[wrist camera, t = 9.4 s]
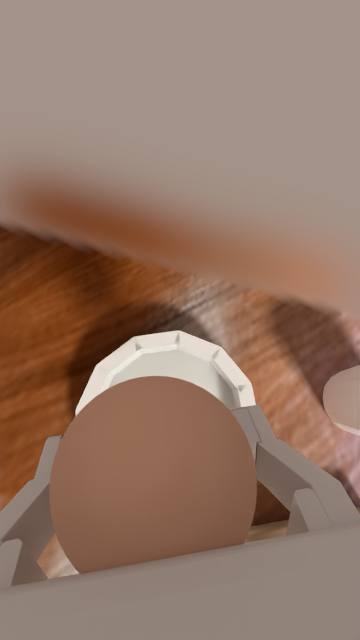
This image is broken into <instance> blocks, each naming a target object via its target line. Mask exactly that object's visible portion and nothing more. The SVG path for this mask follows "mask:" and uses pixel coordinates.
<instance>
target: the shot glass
mask: <svg viewBox="0 0 360 640" xmlns="http://www.w3.org/2000/svg"><path fill="white" fill-rule="evenodd" d="M322 399H323V404H324V408H325V411H326V413H327V415H328V416H329V418H330V419H331V421H332V422H333V423H334V424H336V425H337V426H338V427H339V428H341V429H342V430H345V431H347V432H350V433H353V434H355V435H358V436H360V365H358V366H355V367H352V368H349V369H346V370H343V371H340V372H339V373H337V374H335V375H333V376H332V377H330V379H329V380H328V382H327V383H326V385H325V386H324V392H323V397H322Z"/></svg>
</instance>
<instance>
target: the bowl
mask: <svg viewBox="0 0 360 640" xmlns="http://www.w3.org/2000/svg"><path fill="white" fill-rule="evenodd" d="M144 376H168V377H174V378H179V379H182V380H185V381H188V382H191V383H194V384H196V385H198V386H200V387H202V388H204V389H205V390H207V391H208V392H210V393H211V394H213V395H214V396H215V397H216V398H218V399H219V400H220V401H221V402H222V403H223V404H224V405H225V406H226V407H227V408H228V409H233V408H239V407H247V406H253V405H256V404H255V399H254V394H253V389H252V384H250V383H251V382H250V381H249V380H248V379H247V377H246V376H245V375H244V374H243V373H242V371H241V370H240V369H239V368H238V366H237V365H236V364H235V363H234V362H233V360H232V359H231V358H230V357H229V356H228V354H227V353H226V352H225V351H224V350H223V348H222V347H220V346H218V345H215V344H213V343H210V342H208V341H205V340H202V339H200V338H197V337H195V336H192V335H190V334H187V333H185V332H182V331H179V330H177V331H170V332H163V333H156V334H149V335H142V336H135V337H133V338H131V339H130V340H129V341H127V342H126V343H125V344H123V345H122V346H121V347H119V348H118V349H117V350H115V351H114V352H113V353H111V354H110V355H109V356H107V357H106V358H105V359H103V360H102V361H101V362H99V363H98V364H97V365H96V367H95V369H94V371H93V373H92V375H91V377H90V380H89V382H88V384H87V386H86V388H85V390H84V392H83V395H82V397H81V399H80V401H79V403H78V405H77V408H76V410H75V412H76V415H77V414H78V413H79V412H80V411H81V410H82V409H83V408H84V406H85V405H87V404H88V403H89V402H90V401H91V400H92V399H93V398H95V397H96V396H97V395H99V394H100V393H102V392H103V391H105V390H106V389H108V388H110V387H112V386H114V385H116V384H118V383H121V382H124V381H127V380H129V379H134V378H138V377H144Z"/></svg>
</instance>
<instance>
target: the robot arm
mask: <svg viewBox="0 0 360 640" xmlns="http://www.w3.org/2000/svg"><path fill="white" fill-rule="evenodd" d="M229 410H230V411H231V412H232V414H233V415H234V416H235V418H236V419H237V421H238V422H239V424H240V425H241V427H242V429H243V431H244V433H245V435H246V437H247V439H248V442H249V444H250V447H251V450H252V454H253V458H254V461H255V467H256V475H257V479H258V480H259V481H260V482H261V483H262V484H263V485H264V486H265V487H266V488H267V489H268V490H269V491H270V492H271V493H272V494H273V495H274V496H275V497H276V498H277V499H278V500H279V501H280V502H281V503H282V504H283V505H284V506H285V507H286V508H287V509H288V510H289V511H290V517H289V522H288V527H287V532H286V534H287V536H281V537H276V538H270V539H265V540H259V541H254V542H249V543H244V544H239V545H234V546H228V547H223V548H218V549H212V550H207V551H202V552H196V553H191V554H185V555H180V556H175V557H169V558H164V559H158V560H153V561H147V562H142V563H136V564H131V565H126V566H120V567H115V568H110V569H104V570H99V571H93V572H88V573H83V574H75V575H70V576H64V577H59V578H53V579H48V580H47V576H46V574H45V573H44V572H43V570H42V569H41V567H40V566H39V565H38V563H37V560H38V559H39V557H40V555H41V554H42V552H43V551H44V549H45V548H46V546H47V544H48V543H49V541H50V540H51V538H52V537H53V535H54V533H55V530H54V526H53V521H52V517H51V512H50V501H49V484H50V476H51V469H52V465H53V461H54V458H55V454H56V451H57V449H58V446H59V444H60V441H61V439H62V437H63V435H60V436H53V437H48V439H47V440H46V442H45V445H44V449H43V452H42V455H41V458H40V462H39V465H38V468H37V471H36V475H35V478H34V480H30V481H29V482H28V483H27V484H26V485H25V486H24V487H23V488H22V489H21V490H20V491H19V492H18V494H17V495H16V496H15V497H14V498H13V499H12V500H11V501H10V502H9V503H8V504H7V505H6V507H5V508H4V509H3V510H2V511H1V512H0V640H360V514H359V512H358V511H357V509H356V507H355V506H354V504H353V502H352V501H351V499H350V497H349V496H348V494H347V492H346V491H345V489H344V487H343V486H342V484H341V482H340V481H339V480H337V479H336V478H334V477H333V476H332V475H330V474H329V473H327V472H326V471H324V470H323V469H322V468H320V467H319V466H317V465H316V464H315V463H313V462H312V461H310V460H309V459H308V458H306V457H305V456H303V455H302V454H301V453H299V452H298V451H296V450H295V449H294V448H292V447H291V446H289V445H288V444H286V443H285V442H284V441H282V440H281V439H278V440H276V437H275V435H274V433H273V431H272V429H271V427H270V425H269V423H268V421H267V419H266V416H265V414H264V412H263V410H262V408H261V406H260V405H253V406H247V407H239V408H233V409H229Z"/></svg>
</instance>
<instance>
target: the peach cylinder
mask: <svg viewBox="0 0 360 640" xmlns="http://www.w3.org/2000/svg"><path fill="white" fill-rule="evenodd" d="M256 498H257V475H256V467H255V461H254V458H253V454H252V450H251V447H250V444H249V442H248V439H247V437H246V435H245V433H244V431H243V429H242V427H241V425H240V424H239V422H238V421H237V419H236V418H235V416H234V415H233V414H232V412H231V411H230V410H229V409H228V408H227V407H226V406H225V405H224V404H223V403H222V402H221V401H220V400H219V399H218V398H216V397H215V396H214V395H213V394H211V393H210V392H208V391H207V390H205V389H204V388H202V387H200V386H198V385H196V384H194V383H191V382H188V381H185V380H182V379H179V378H174V377H168V376H144V377H138V378H134V379H129V380H127V381H124V382H121V383H118V384H116V385H114V386H112V387H110V388H108V389H106V390H105V391H103V392H102V393H100V394H99V395H97V396H96V397H95V398H93V399H92V400H91V401H90V402H89V403H88V404H87V405H85V406H84V408H83V409H82V410H81V411H80V412H79V413H78V414H77V415H76V417H75V418H74V419H73V421H72V422H71V424H70V425H69V426H68V428H67V430H66V432H65V434H64V435H63V437H62V439H61V441H60V444H59V446H58V449H57V451H56V454H55V458H54V461H53V465H52V469H51V476H50V484H49V501H50V512H51V517H52V521H53V526H54V530H55V532H56V535H57V538H58V540H59V543H60V545H61V547H62V549H63V551H64V553H65V554H66V556H67V558H68V559H69V561H70V562H71V563H72V565H73V566H74V568H75V569H76V570H77V571H78V572H79V573H80V574H83V573H88V572H93V571H99V570H104V569H110V568H115V567H120V566H126V565H131V564H136V563H142V562H147V561H153V560H158V559H164V558H169V557H175V556H180V555H185V554H191V553H196V552H202V551H207V550H212V549H218V548H223V547H228V546H234V545H239V544H244V542H245V540H246V538H247V535H248V532H249V530H250V527H251V524H252V521H253V516H254V512H255V508H256Z"/></svg>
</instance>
